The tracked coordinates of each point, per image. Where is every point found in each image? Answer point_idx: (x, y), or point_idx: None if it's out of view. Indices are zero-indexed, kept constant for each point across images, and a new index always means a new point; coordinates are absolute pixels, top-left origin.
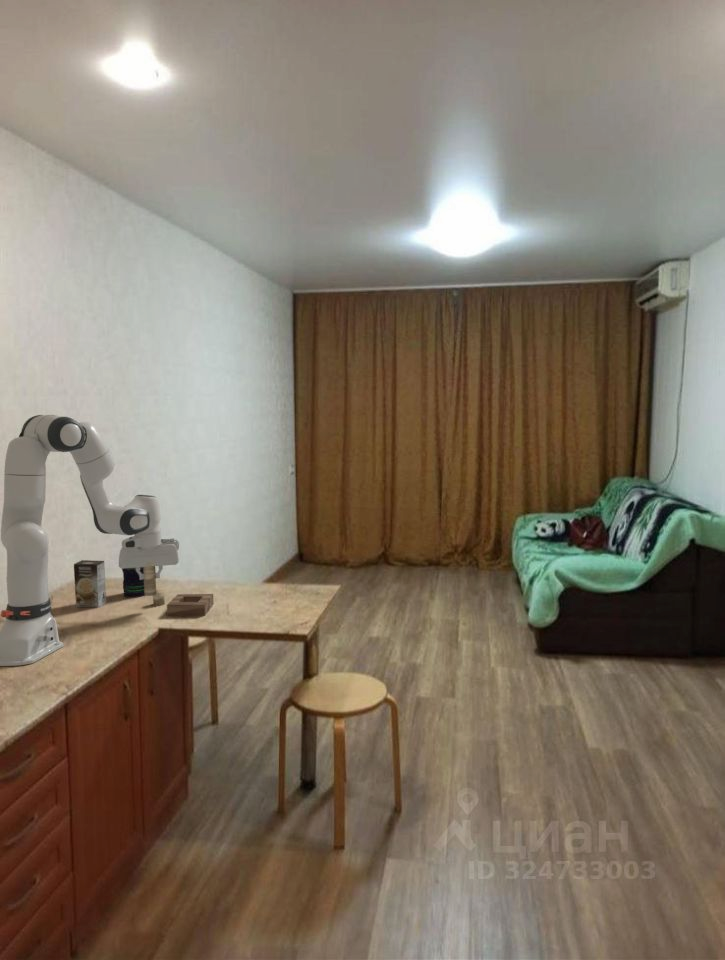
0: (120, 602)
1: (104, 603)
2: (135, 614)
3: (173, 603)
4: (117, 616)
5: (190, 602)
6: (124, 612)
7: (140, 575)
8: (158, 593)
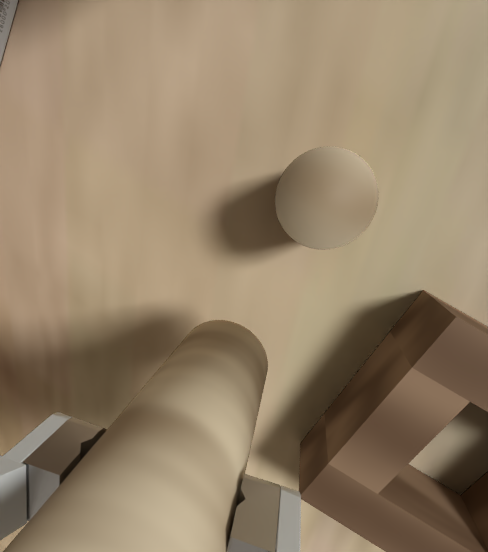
0: (105, 16)
1: (15, 4)
2: (166, 327)
3: (342, 499)
4: (89, 309)
5: (446, 545)
6: (120, 261)
7: (24, 509)
8: (312, 247)
